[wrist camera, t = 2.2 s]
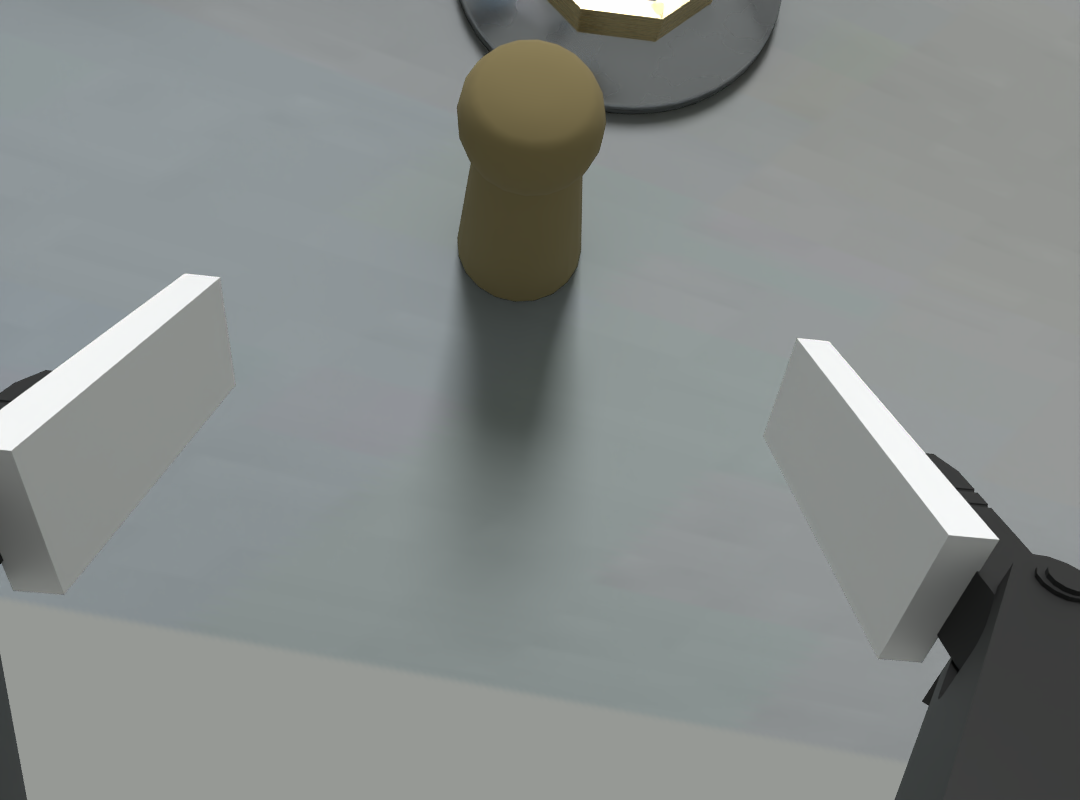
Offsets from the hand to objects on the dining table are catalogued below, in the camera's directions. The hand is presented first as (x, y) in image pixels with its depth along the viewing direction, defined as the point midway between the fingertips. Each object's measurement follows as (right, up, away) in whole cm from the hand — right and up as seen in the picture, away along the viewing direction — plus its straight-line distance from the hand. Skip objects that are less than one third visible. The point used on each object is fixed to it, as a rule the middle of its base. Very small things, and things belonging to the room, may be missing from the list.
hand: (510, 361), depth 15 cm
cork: (0, +7, +17) cm, 18 cm away
